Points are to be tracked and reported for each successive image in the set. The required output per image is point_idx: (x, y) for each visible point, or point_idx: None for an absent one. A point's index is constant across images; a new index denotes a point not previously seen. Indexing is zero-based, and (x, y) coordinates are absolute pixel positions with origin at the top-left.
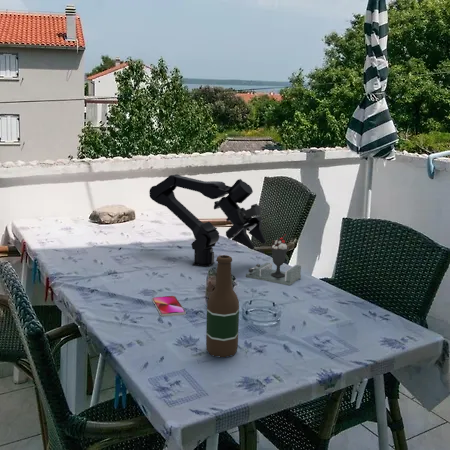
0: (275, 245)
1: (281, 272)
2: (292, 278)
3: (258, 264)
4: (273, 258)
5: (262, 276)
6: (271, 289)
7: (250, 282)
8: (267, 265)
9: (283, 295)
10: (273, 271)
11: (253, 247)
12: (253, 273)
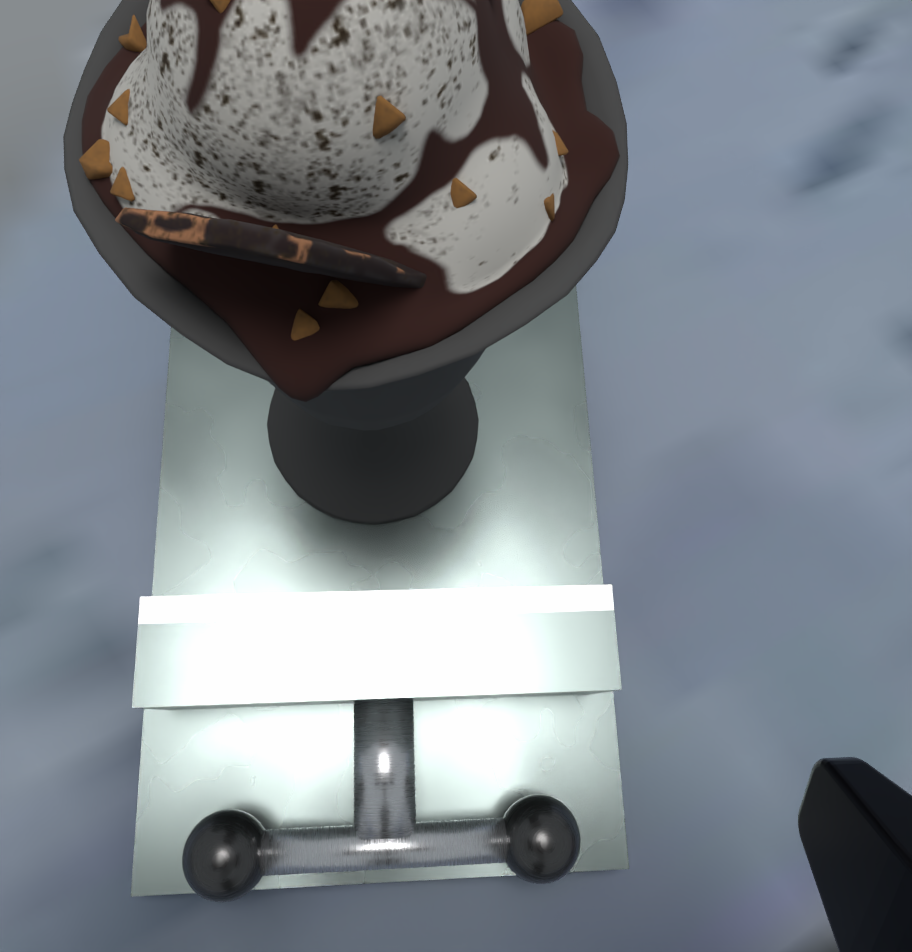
0: (512, 122)
1: (217, 434)
2: None
3: (234, 848)
4: (482, 351)
5: (568, 581)
6: (824, 323)
7: (785, 663)
8: (319, 605)
9: (893, 152)
10: (235, 555)
11: (869, 771)
12: (522, 777)
